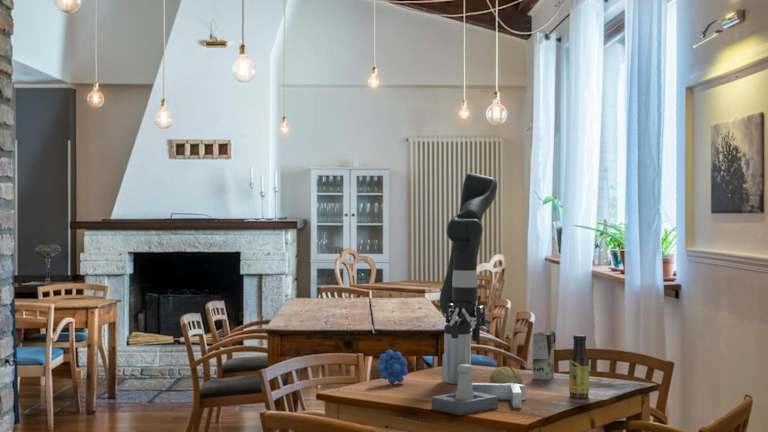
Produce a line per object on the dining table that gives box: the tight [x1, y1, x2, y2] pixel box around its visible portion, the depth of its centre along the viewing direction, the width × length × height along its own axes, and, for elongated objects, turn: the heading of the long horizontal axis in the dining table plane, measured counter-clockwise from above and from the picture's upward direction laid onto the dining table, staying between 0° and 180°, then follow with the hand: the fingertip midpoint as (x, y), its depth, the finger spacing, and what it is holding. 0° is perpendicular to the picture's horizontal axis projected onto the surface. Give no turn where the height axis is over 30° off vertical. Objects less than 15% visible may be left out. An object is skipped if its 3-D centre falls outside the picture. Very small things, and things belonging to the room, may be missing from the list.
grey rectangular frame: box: [430, 391, 499, 416], centre depth 249 cm, size 12×16×4 cm
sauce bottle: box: [568, 333, 590, 399], centre depth 267 cm, size 7×6×20 cm
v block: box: [471, 382, 526, 409], centre depth 260 cm, size 12×20×4 cm, turn 40°
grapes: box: [376, 349, 409, 385], centre depth 287 cm, size 12×7×12 cm, turn 115°
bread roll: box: [489, 366, 524, 385], centre depth 277 cm, size 10×15×8 cm, turn 17°
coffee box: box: [532, 331, 555, 381], centre depth 302 cm, size 9×6×16 cm
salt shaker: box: [455, 364, 474, 401], centre depth 249 cm, size 6×6×13 cm
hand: (465, 339), depth 249 cm, fingers open, 8 cm apart
